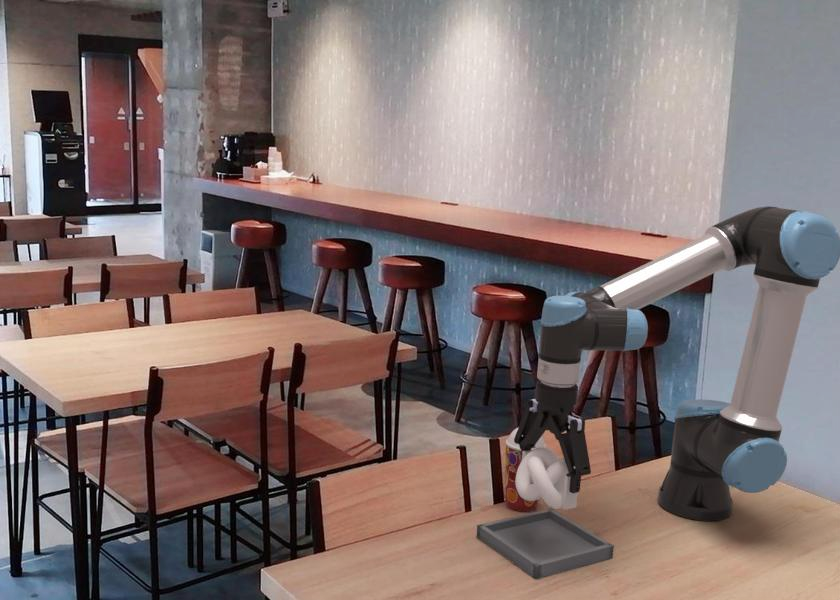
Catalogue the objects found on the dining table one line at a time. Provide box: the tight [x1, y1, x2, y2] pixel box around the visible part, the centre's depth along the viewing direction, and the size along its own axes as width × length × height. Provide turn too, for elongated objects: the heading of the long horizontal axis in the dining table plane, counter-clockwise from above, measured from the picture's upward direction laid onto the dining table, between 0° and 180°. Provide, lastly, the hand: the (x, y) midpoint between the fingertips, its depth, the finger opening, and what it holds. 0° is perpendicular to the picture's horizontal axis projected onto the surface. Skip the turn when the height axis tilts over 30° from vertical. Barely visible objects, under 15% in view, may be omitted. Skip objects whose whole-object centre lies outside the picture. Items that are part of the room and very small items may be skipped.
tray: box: [476, 507, 615, 580], centre depth 169 cm, size 18×18×2 cm
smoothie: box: [504, 426, 548, 512], centre depth 186 cm, size 8×8×20 cm
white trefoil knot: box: [515, 447, 575, 510], centre depth 166 cm, size 11×12×9 cm
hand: (547, 495), depth 167 cm, fingers closed on white trefoil knot, 12 cm apart
